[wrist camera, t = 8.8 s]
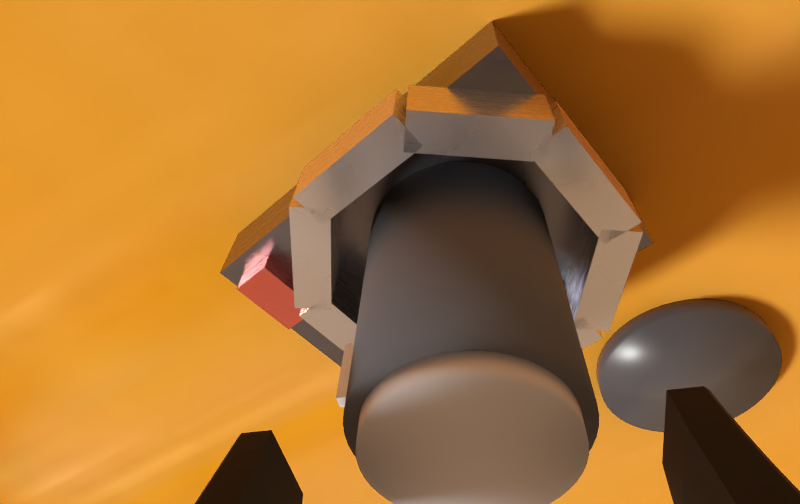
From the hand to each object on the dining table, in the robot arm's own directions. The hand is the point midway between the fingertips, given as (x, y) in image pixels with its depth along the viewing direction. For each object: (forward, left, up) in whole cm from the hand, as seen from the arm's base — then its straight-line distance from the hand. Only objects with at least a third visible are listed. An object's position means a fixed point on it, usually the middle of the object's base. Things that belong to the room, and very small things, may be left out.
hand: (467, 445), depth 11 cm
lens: (0, 0, -7) cm, 7 cm away
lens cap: (-10, -2, -9) cm, 14 cm away
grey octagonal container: (0, +1, -9) cm, 9 cm away
